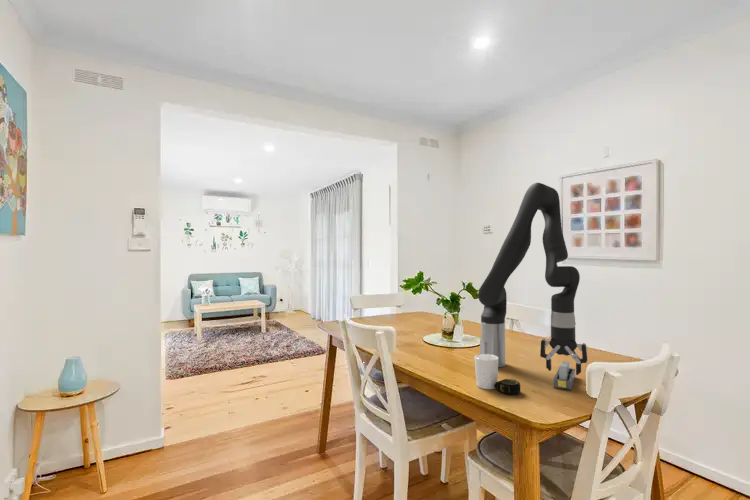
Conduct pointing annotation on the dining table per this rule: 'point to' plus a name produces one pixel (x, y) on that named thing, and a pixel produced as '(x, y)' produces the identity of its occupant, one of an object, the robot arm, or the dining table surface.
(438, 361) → the dining table surface
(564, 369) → the panel
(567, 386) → the box
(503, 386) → the tape measure
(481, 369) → the white cup
